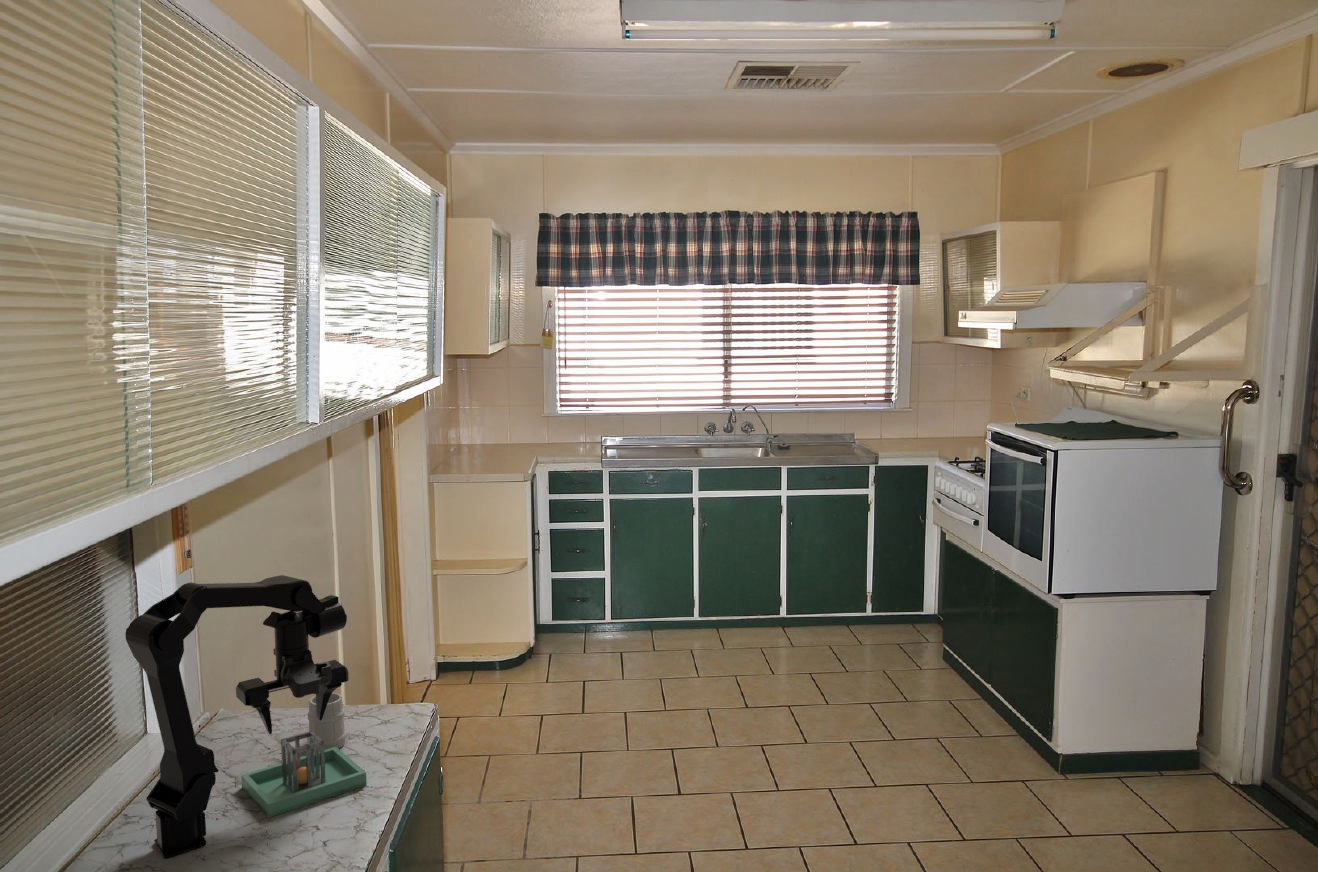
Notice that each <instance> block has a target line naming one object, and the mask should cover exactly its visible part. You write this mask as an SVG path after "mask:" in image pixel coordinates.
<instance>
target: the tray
mask: <svg viewBox="0 0 1318 872" xmlns="http://www.w3.org/2000/svg"><path fill="white" fill-rule="evenodd" d="M324 756H325V781H326V783H324V784H321V785H317V786H314V787H311V788H308V789H305V790H302V791H299V792H296V793H292V792H291V791H290V790H289V789H288V788H287V787H286V786H285V785H284V784H283V779H282V762H280V763H277V764H273V765H270V766H266V767H263V768H260V769H257V770H253V771H251V772H246V773H243V774H241V775H240V778H241V789H242V790H243V791H244V792H245V793H246V794H247V796H248V797H250V799H251V801H253V802H254V803H255V805H257V806H258V808H259V809H260V810H261V811H262V812H263V813H264V814H265V816H266V817H267V818H272V817H275V816H278V815H281V814H285V813H287V812H290V811H293V810H297V809H299V808H302V807H305V806H308V805H312V804H315V803H317V802H321V801H323V800H326V799H329V798H331V797H335V796H338V795H341V794H344V793H347V792H349V791H350V792H351V791H353V790H355V789H359V788H362V787H365V786H367V785H368V783H367V771H365V770H364V769H363V768H361V766H359V765H358V764H357V763H356V762H354V760H352V759H351V758H350V757H348V756H347V755H346V754H345V752H343V751H341V750H340V748H337V747H333V748H329V749H326V750H324ZM319 765H320V751H319ZM300 767H306V755H303V756H300ZM291 769H292V759H291ZM286 770H287V760H286ZM314 771H315V752H314ZM320 777H321V767H320Z"/></svg>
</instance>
